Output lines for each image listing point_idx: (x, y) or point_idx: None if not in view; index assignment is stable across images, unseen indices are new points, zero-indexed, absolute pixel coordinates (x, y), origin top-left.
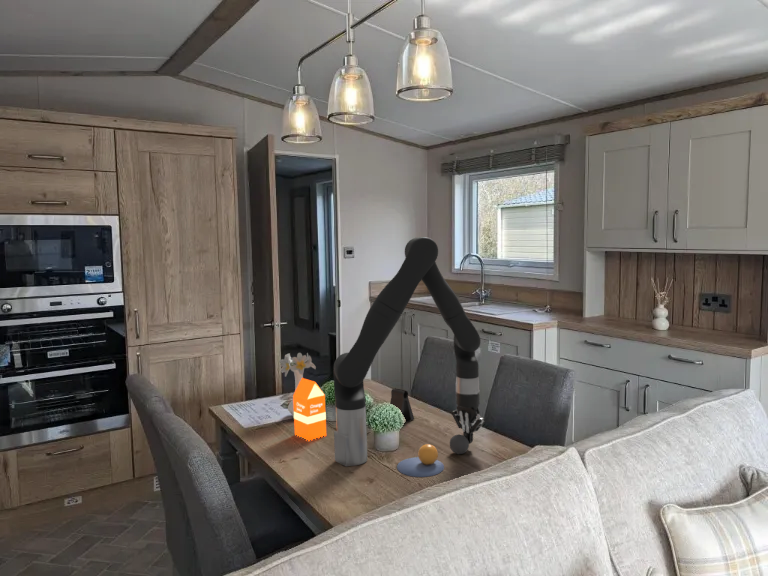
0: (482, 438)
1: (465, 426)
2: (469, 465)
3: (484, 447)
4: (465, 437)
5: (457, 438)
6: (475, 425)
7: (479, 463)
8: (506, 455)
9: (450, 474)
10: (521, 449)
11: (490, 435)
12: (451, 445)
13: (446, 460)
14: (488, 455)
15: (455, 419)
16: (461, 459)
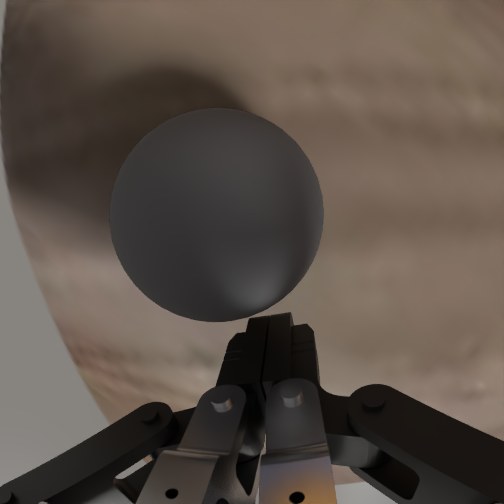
0: None
1: (270, 444)
2: (43, 149)
3: None
4: (157, 301)
5: (141, 180)
6: (68, 469)
7: (46, 219)
8: (103, 392)
9: (21, 12)
10: (148, 459)
11: None
12: (207, 108)
13: (169, 38)
14: (124, 336)
15: (477, 447)
16: (130, 147)
